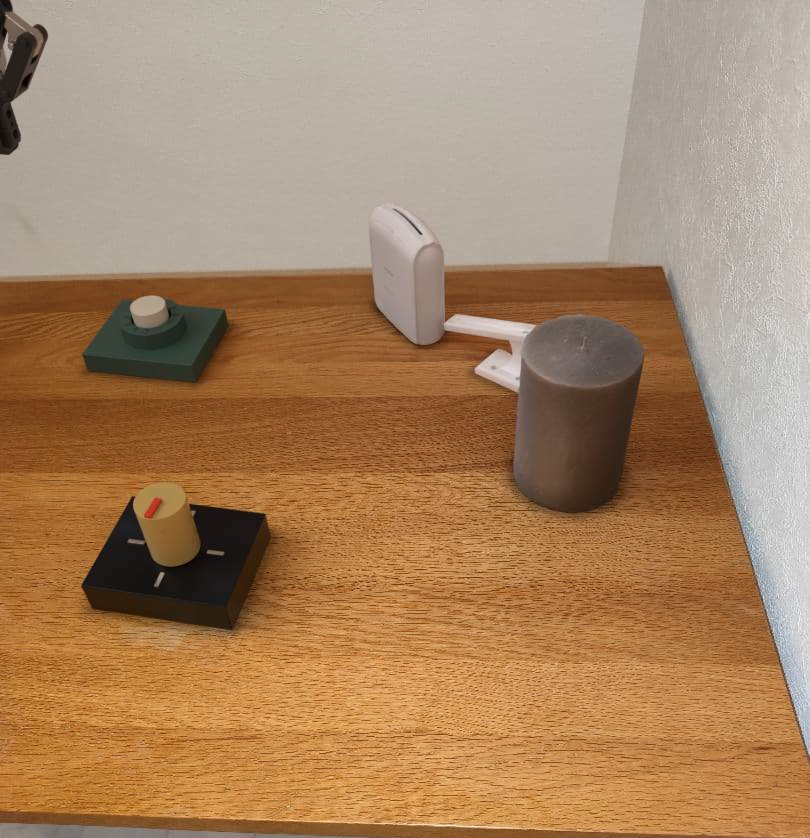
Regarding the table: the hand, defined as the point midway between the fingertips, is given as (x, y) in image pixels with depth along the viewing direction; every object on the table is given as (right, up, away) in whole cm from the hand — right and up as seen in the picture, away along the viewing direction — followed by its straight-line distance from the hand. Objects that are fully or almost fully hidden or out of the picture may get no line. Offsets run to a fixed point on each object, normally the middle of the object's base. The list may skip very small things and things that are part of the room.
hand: (5, 150), depth 74 cm
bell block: (+7, -12, +22) cm, 25 cm away
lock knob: (+15, -33, -2) cm, 36 cm away
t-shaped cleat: (+45, -16, +16) cm, 50 cm away
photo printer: (+33, -9, +23) cm, 42 cm away
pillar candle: (+47, -26, +7) cm, 55 cm away
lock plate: (+15, -35, +1) cm, 38 cm away
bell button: (+7, -9, +19) cm, 22 cm away
